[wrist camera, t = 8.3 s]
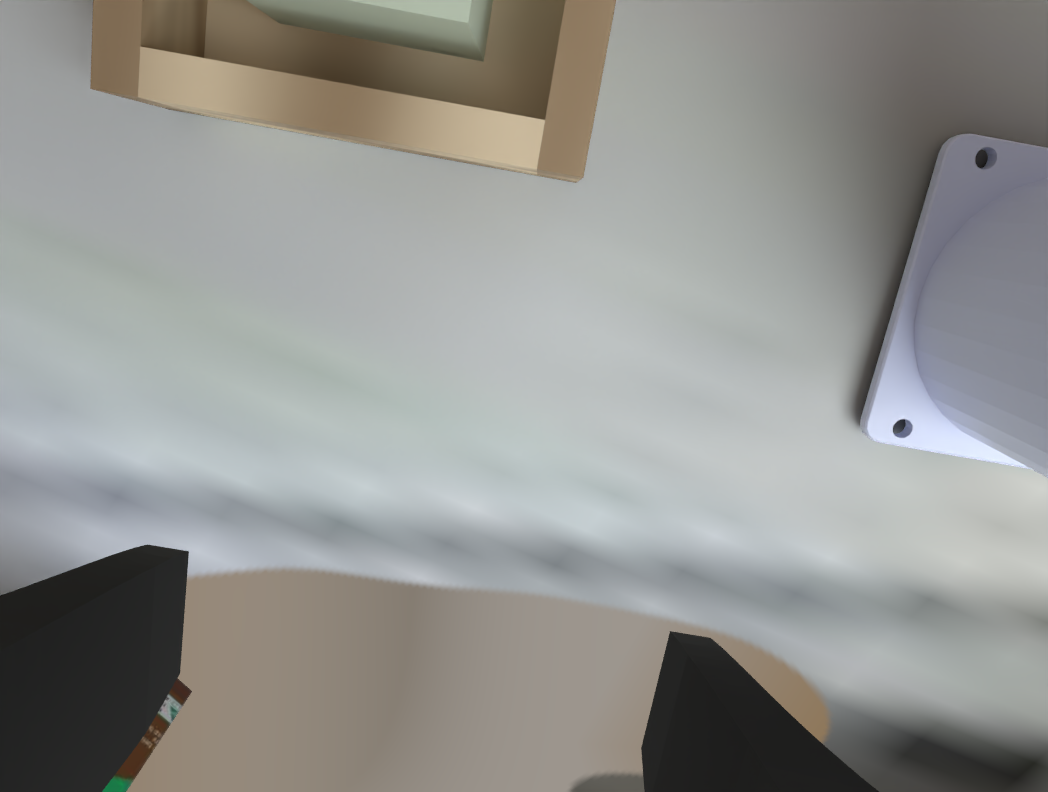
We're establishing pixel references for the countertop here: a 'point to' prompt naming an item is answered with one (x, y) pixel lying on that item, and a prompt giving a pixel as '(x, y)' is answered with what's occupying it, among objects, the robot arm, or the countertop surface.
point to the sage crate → (394, 22)
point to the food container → (149, 739)
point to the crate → (370, 79)
